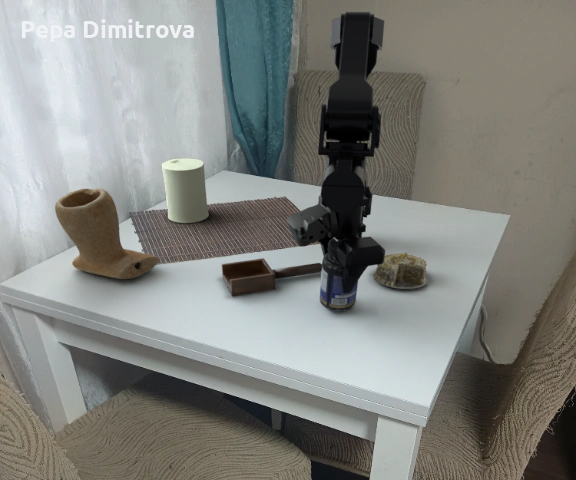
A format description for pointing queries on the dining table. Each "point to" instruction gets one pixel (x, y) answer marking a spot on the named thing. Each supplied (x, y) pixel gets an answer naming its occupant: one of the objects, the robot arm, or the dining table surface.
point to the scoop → (260, 275)
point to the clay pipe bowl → (99, 235)
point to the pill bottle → (334, 282)
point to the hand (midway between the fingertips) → (338, 283)
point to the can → (185, 190)
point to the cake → (402, 271)
